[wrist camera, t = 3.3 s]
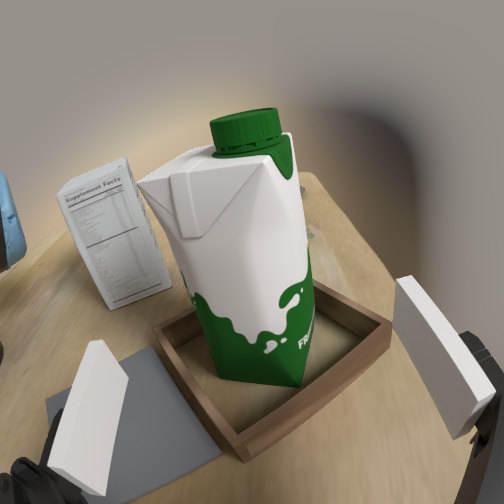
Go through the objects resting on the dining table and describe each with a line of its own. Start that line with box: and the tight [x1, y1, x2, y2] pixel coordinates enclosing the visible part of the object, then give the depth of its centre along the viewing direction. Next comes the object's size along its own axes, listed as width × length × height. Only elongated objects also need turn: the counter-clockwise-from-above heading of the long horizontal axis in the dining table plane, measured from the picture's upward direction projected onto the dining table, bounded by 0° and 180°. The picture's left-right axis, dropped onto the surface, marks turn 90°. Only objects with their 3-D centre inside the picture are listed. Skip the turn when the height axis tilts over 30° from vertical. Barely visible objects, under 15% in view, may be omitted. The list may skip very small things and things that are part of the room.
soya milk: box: [136, 108, 315, 387], centre depth 23 cm, size 9×9×20 cm
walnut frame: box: [152, 279, 392, 463], centre depth 27 cm, size 15×15×3 cm
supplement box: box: [56, 157, 172, 311], centre depth 39 cm, size 10×9×17 cm
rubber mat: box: [46, 345, 223, 504], centre depth 22 cm, size 15×14×1 cm
